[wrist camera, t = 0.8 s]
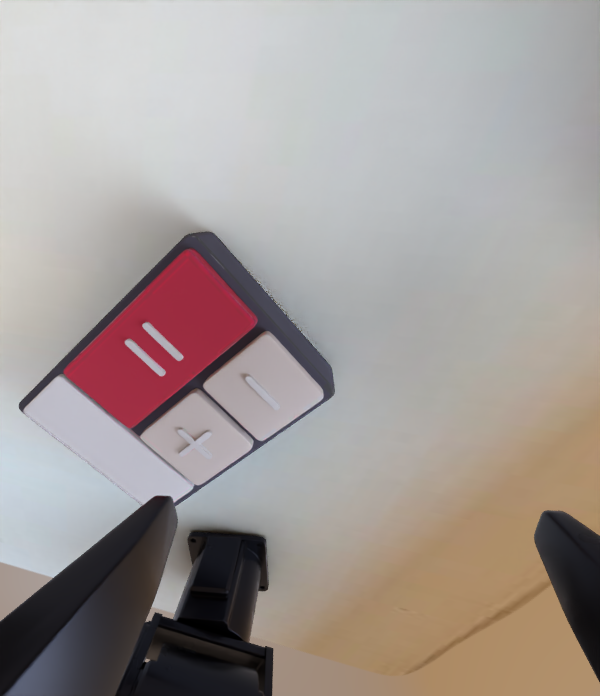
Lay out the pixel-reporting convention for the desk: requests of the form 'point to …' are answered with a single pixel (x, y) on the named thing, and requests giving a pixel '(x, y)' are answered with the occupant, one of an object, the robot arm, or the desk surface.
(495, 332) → the desk surface
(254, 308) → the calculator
